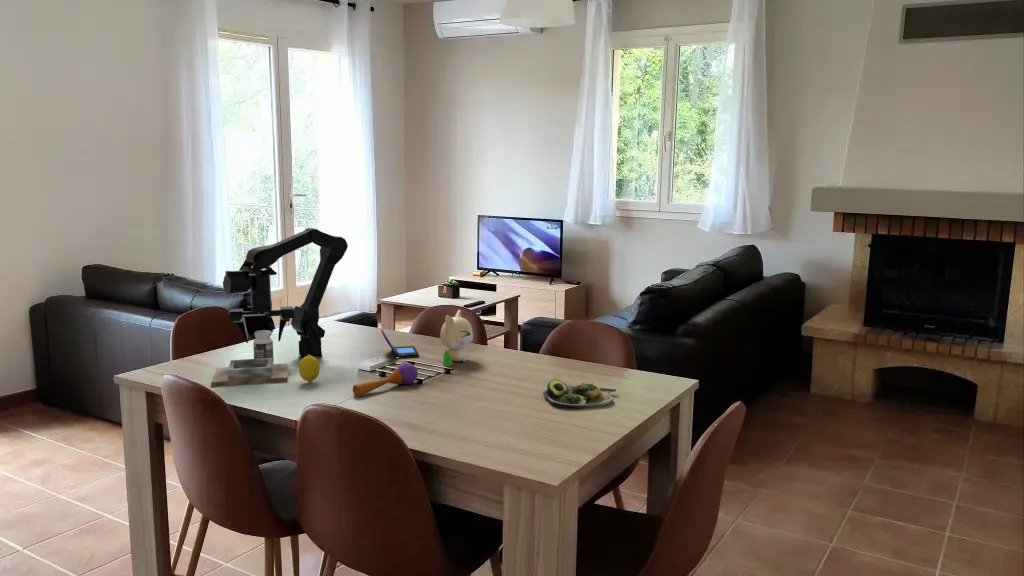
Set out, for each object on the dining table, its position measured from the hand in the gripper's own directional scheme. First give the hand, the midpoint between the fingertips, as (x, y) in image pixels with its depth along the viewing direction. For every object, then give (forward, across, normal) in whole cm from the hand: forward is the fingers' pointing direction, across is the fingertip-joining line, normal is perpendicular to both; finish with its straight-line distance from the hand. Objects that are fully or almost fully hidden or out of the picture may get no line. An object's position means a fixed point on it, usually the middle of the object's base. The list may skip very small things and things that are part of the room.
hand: (263, 341), depth 243 cm
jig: (+7, +3, +14) cm, 16 cm away
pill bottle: (+7, 0, 0) cm, 7 cm away
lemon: (+7, -13, +25) cm, 29 cm away
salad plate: (+8, -79, +58) cm, 98 cm away
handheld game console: (+7, -41, -2) cm, 42 cm away
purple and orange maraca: (+7, -33, +36) cm, 49 cm away
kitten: (+7, -57, +11) cm, 58 cm away
